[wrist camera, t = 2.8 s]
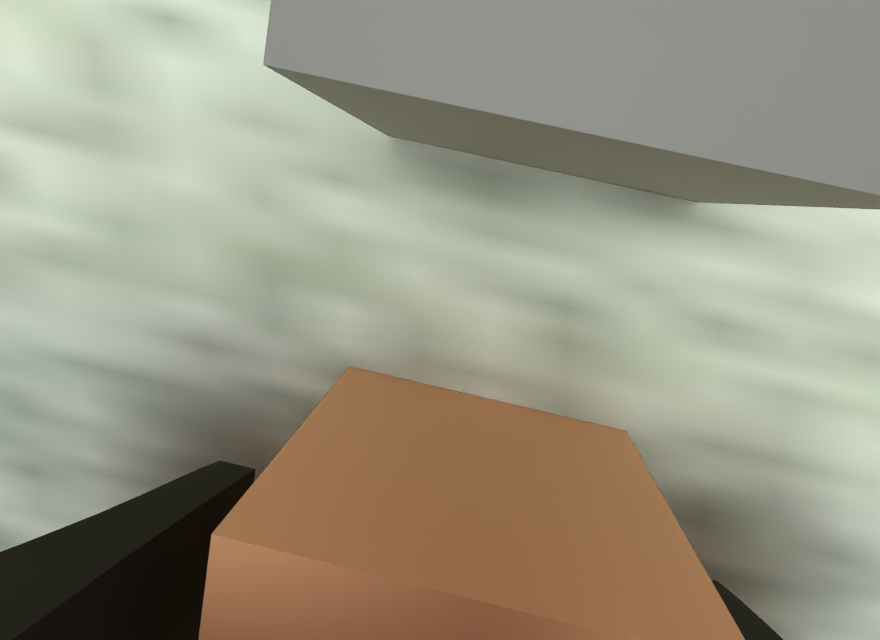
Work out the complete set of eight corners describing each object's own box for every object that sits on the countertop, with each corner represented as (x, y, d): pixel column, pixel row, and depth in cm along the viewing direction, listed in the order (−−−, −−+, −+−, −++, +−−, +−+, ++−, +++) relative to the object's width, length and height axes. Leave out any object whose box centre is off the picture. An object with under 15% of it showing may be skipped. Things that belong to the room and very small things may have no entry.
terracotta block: (552, 655, 11) (601, 1034, 6) (309, 594, 11) (164, 912, 6) (624, 429, 10) (763, 671, 5) (350, 364, 10) (211, 534, 5)
